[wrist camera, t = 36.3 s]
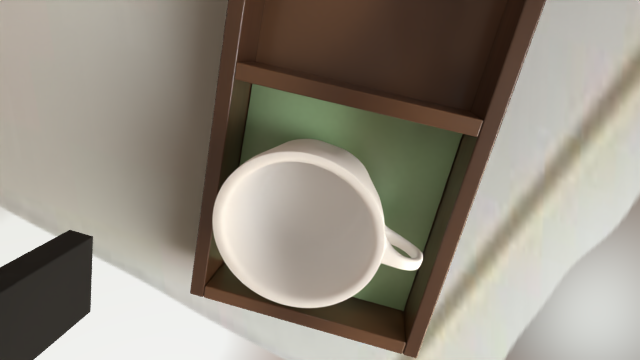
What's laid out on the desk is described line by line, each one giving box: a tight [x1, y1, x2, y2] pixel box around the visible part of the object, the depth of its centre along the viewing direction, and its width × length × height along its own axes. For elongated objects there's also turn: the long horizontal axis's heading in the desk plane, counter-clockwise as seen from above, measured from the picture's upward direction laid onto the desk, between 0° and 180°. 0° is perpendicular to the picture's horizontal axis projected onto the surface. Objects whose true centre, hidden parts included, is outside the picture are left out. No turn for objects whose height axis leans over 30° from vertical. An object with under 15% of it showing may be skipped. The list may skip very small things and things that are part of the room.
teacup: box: [212, 139, 423, 308], centre depth 20 cm, size 10×8×5 cm
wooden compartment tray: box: [190, 0, 546, 358], centre depth 20 cm, size 13×25×4 cm, turn 168°
